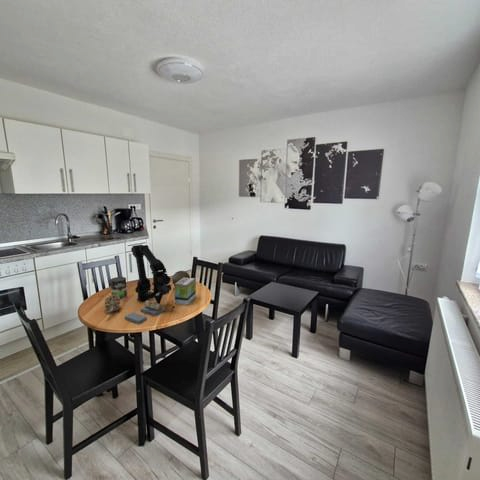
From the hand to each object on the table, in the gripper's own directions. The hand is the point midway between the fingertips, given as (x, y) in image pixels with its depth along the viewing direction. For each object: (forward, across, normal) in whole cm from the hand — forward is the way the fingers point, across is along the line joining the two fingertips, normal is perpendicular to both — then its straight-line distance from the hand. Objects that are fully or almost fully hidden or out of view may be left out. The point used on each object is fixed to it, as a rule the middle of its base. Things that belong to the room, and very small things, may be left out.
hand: (159, 303), depth 167 cm
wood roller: (-1, -5, 0) cm, 5 cm away
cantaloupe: (+3, +34, +10) cm, 35 cm away
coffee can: (+3, -1, +38) cm, 38 cm away
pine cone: (+3, -19, +21) cm, 29 cm away
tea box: (+3, +18, -7) cm, 20 cm away
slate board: (+3, -12, 0) cm, 12 cm away
